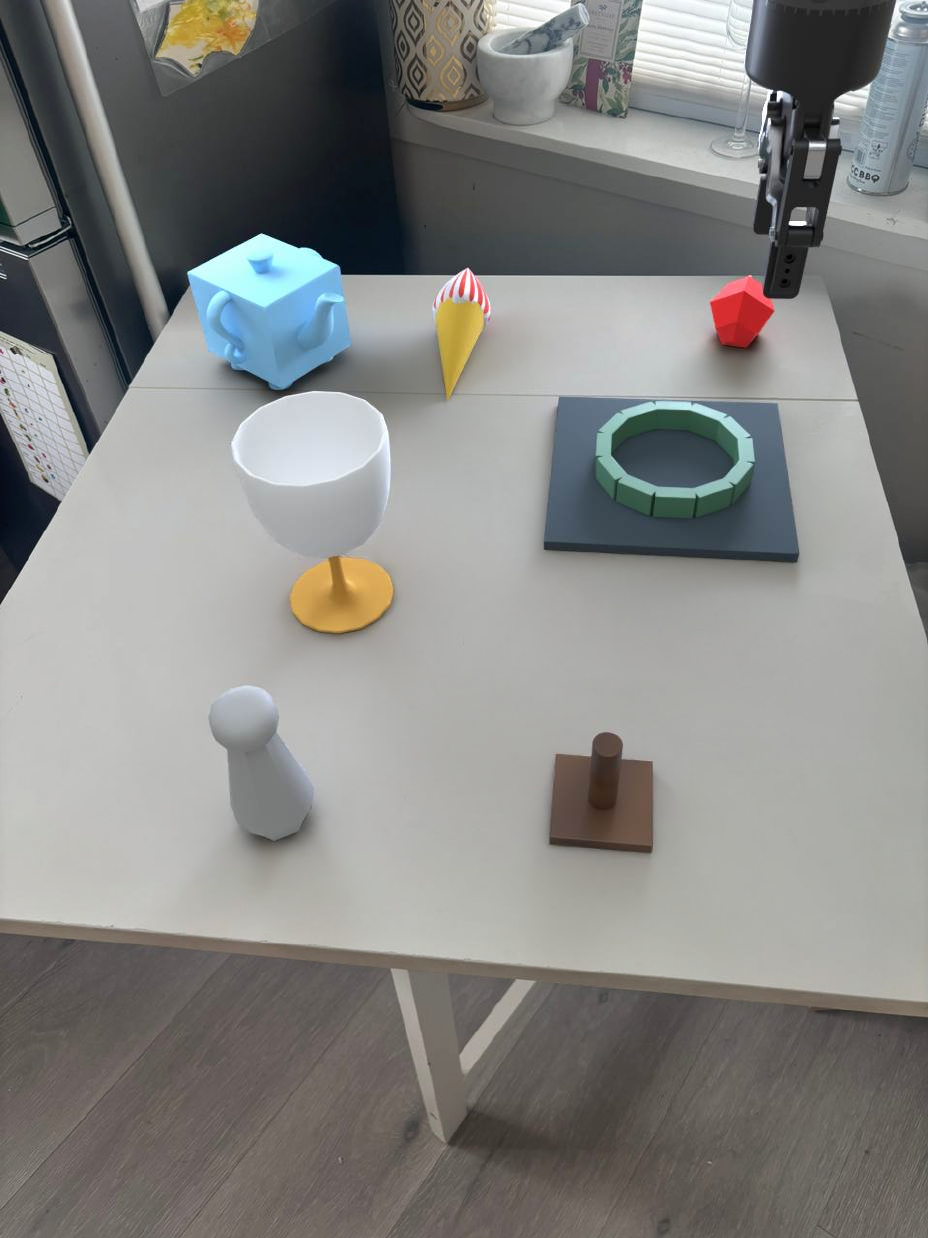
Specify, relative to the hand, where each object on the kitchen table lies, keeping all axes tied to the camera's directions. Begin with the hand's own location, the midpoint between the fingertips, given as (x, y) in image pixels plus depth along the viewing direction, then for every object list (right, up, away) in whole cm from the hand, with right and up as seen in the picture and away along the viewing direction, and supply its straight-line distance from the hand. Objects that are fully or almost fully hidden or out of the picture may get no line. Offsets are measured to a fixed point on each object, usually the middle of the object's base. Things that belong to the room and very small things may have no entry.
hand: (773, 262), depth 66 cm
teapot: (-39, +4, +45) cm, 59 cm away
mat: (-1, -10, +29) cm, 31 cm away
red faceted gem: (+10, +8, +45) cm, 47 cm away
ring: (-1, -9, +29) cm, 30 cm away
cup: (-31, -22, +21) cm, 43 cm away
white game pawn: (-34, -38, +6) cm, 51 cm away
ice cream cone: (-21, +6, +46) cm, 51 cm away
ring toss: (-11, -37, +5) cm, 39 cm away
